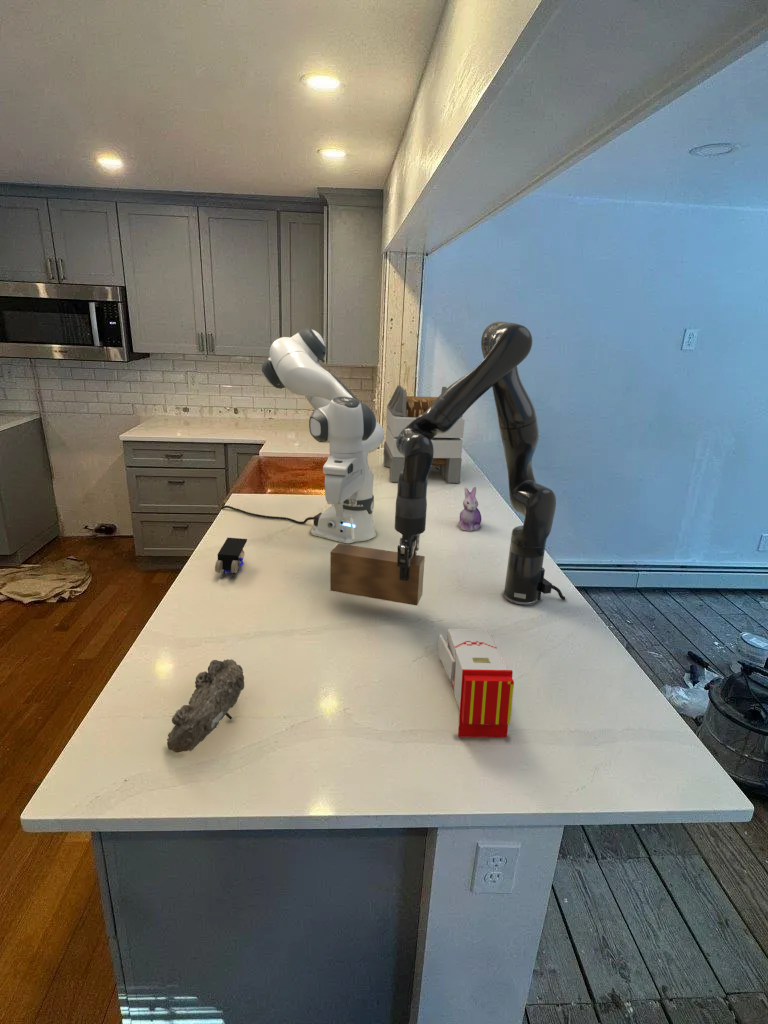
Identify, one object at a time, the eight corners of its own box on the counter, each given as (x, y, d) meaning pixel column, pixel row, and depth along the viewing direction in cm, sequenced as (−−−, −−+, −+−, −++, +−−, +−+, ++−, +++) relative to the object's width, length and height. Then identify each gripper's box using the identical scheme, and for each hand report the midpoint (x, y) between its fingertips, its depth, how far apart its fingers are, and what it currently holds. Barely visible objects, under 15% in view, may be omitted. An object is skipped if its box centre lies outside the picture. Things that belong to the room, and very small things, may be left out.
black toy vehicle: (238, 584, 162) (249, 557, 175) (236, 562, 158) (247, 536, 172) (215, 584, 161) (227, 556, 175) (212, 561, 158) (225, 535, 171)
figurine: (467, 533, 203) (471, 493, 198) (451, 523, 211) (454, 485, 206) (488, 529, 207) (492, 490, 202) (471, 520, 215) (475, 482, 210)
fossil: (192, 660, 117) (244, 628, 112) (224, 691, 120) (276, 661, 115) (142, 746, 98) (202, 712, 93) (182, 779, 101) (242, 748, 96)
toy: (488, 613, 130) (523, 677, 101) (484, 667, 133) (517, 744, 104) (435, 612, 130) (455, 676, 101) (432, 666, 133) (451, 743, 103)
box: (330, 590, 148) (330, 551, 144) (338, 581, 153) (338, 543, 149) (417, 605, 142) (419, 565, 138) (422, 595, 147) (424, 556, 144)
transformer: (382, 463, 289) (386, 382, 275) (445, 464, 293) (451, 384, 279) (390, 482, 257) (394, 392, 243) (460, 483, 261) (468, 394, 247)
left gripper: (349, 451, 159) (349, 498, 163) (319, 468, 140) (320, 521, 145) (370, 453, 157) (370, 501, 161) (343, 471, 138) (344, 524, 143)
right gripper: (419, 524, 130) (415, 589, 136) (431, 504, 143) (427, 565, 149) (387, 519, 132) (385, 584, 138) (403, 501, 145) (400, 561, 151)
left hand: (346, 510), depth 153 cm, fingers open, 8 cm apart
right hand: (407, 574), depth 143 cm, fingers closed on box, 6 cm apart
